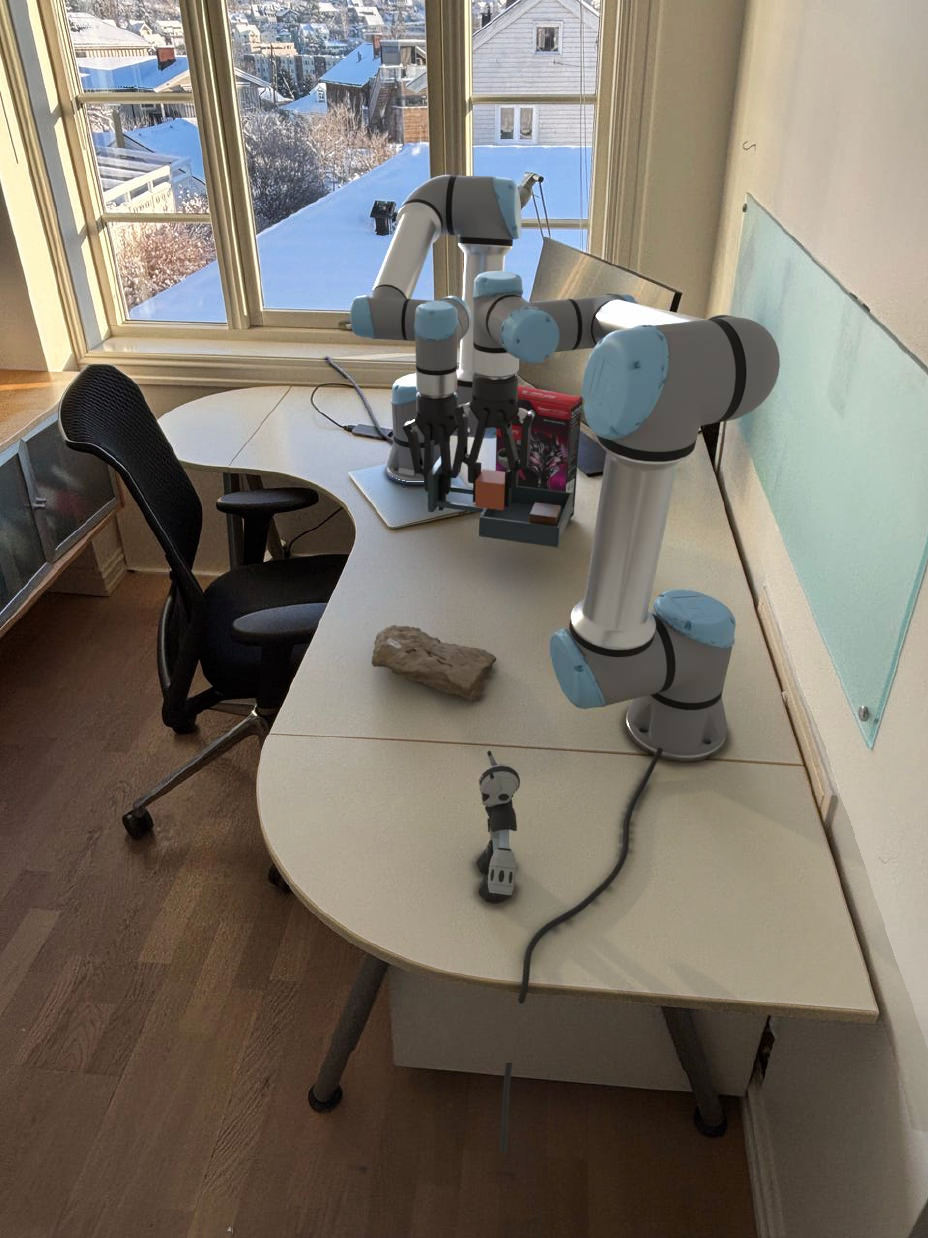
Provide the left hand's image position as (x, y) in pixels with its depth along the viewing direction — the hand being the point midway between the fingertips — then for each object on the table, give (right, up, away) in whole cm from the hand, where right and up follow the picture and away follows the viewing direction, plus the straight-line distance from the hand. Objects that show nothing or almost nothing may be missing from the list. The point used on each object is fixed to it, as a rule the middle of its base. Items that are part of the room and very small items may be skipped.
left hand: (437, 506), depth 182 cm
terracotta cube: (+10, -1, -19) cm, 21 cm away
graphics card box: (+20, +1, +21) cm, 29 cm away
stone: (-1, -31, -27) cm, 42 cm away
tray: (+12, -3, -2) cm, 13 cm away
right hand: (+10, -1, -19) cm, 21 cm away
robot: (+9, -56, -63) cm, 85 cm away
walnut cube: (+20, -6, -8) cm, 23 cm away
